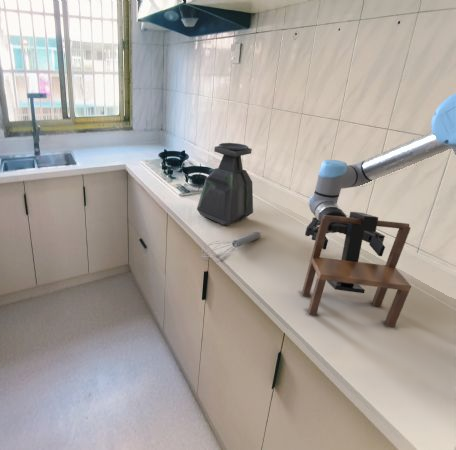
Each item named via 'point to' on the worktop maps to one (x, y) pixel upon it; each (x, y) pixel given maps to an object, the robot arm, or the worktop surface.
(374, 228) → the black pedestal stand
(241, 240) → the kitchen whisk
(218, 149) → the dark grey vase
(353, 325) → the worktop surface
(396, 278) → the chair
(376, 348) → the worktop surface
